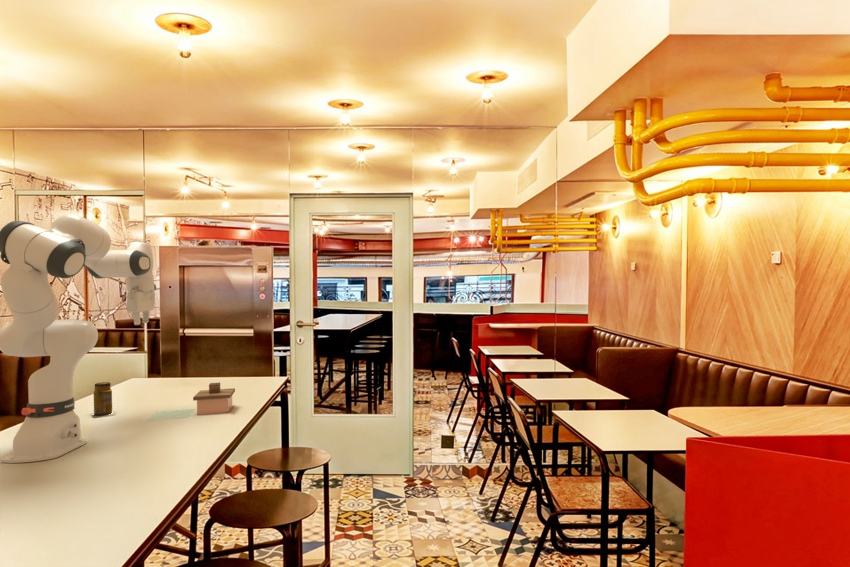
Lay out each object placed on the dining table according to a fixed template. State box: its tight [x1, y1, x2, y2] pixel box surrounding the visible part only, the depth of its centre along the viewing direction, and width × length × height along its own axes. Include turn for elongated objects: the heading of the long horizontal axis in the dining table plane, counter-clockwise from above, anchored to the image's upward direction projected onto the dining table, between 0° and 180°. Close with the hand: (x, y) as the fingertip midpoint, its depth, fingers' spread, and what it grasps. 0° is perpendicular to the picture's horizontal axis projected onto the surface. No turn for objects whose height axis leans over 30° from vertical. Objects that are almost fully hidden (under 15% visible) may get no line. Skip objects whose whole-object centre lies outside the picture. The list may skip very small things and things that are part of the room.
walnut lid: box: [192, 382, 236, 401], centre depth 204 cm, size 13×13×5 cm
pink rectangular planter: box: [196, 395, 233, 416], centre depth 204 cm, size 11×11×6 cm
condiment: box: [90, 381, 116, 418], centre depth 203 cm, size 7×8×12 cm
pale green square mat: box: [146, 408, 196, 422], centre depth 199 cm, size 14×14×1 cm
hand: (141, 323), depth 194 cm, fingers open, 8 cm apart
